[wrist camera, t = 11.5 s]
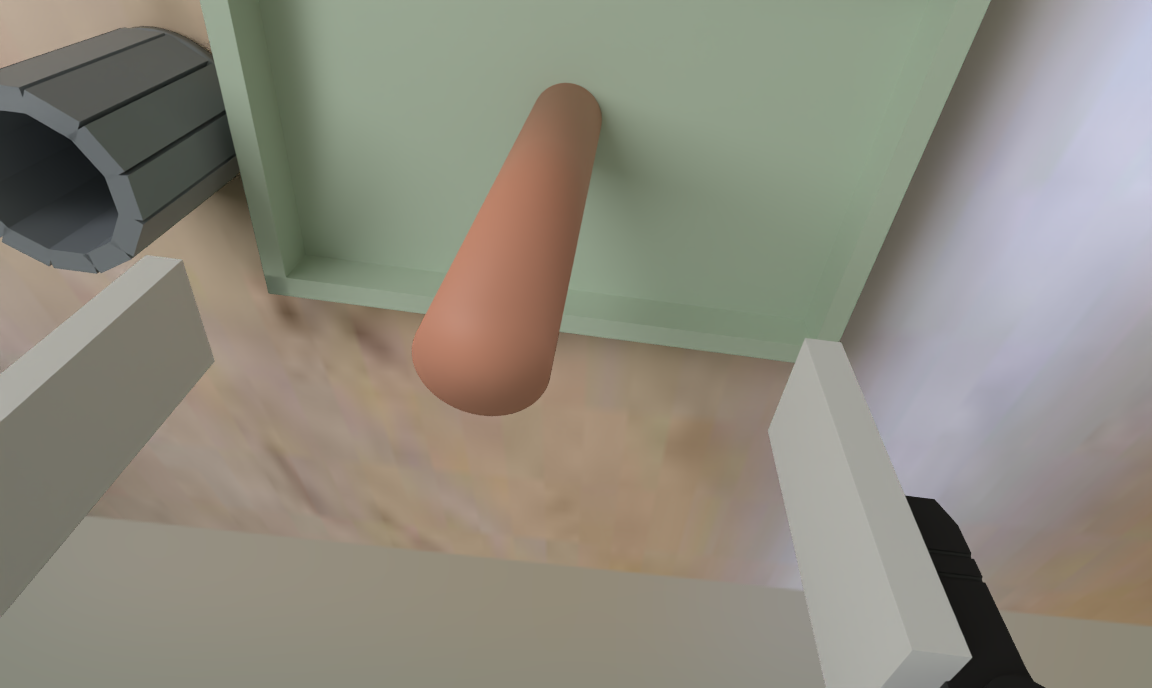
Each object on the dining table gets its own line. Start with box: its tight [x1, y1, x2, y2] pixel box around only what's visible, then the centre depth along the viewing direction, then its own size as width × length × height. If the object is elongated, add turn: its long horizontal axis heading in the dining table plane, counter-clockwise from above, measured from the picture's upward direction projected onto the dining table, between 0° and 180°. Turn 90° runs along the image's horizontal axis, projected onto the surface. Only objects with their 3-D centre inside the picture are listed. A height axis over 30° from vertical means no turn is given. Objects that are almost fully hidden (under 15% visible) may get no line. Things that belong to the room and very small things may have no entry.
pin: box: [412, 83, 602, 416], centre depth 19 cm, size 6×3×16 cm, turn 85°
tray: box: [200, 0, 991, 363], centre depth 25 cm, size 26×18×3 cm
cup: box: [0, 26, 240, 274], centre depth 25 cm, size 7×7×8 cm
